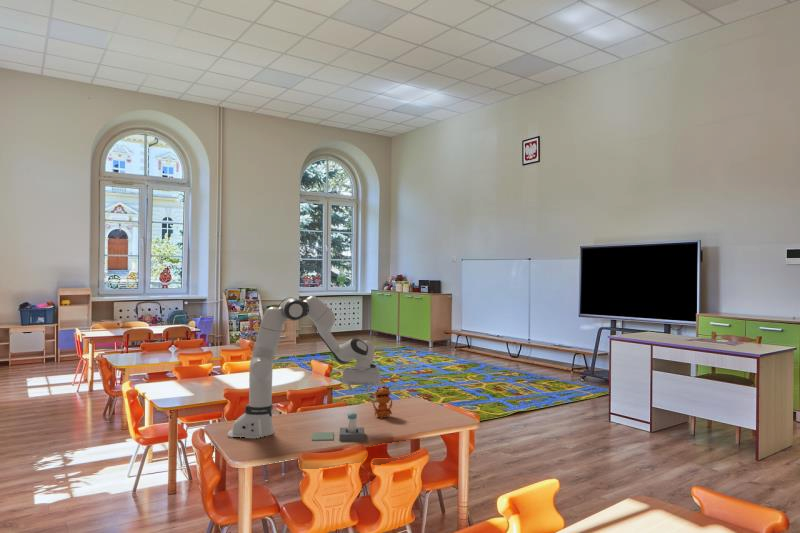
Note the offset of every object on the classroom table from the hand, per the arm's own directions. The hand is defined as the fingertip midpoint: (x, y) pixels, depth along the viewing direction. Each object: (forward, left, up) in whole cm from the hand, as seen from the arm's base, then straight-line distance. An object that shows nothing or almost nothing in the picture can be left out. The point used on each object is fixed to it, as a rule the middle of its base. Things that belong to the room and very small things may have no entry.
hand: (358, 391), depth 280 cm
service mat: (-17, -11, -21) cm, 29 cm away
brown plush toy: (+15, +30, -21) cm, 39 cm away
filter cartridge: (-3, -12, -20) cm, 24 cm away
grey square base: (-3, -12, -21) cm, 25 cm away
